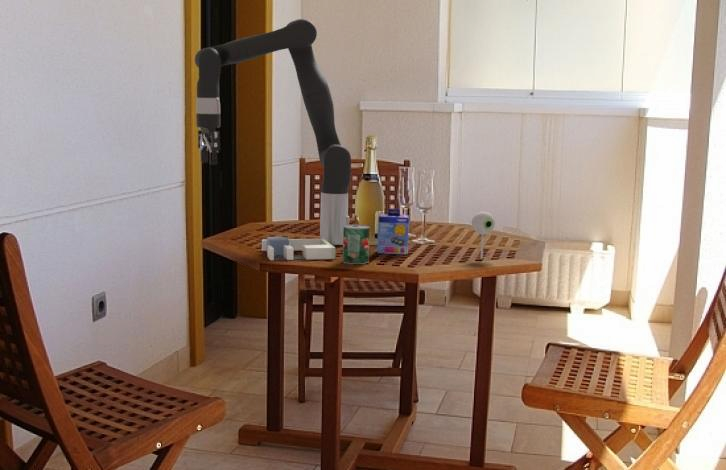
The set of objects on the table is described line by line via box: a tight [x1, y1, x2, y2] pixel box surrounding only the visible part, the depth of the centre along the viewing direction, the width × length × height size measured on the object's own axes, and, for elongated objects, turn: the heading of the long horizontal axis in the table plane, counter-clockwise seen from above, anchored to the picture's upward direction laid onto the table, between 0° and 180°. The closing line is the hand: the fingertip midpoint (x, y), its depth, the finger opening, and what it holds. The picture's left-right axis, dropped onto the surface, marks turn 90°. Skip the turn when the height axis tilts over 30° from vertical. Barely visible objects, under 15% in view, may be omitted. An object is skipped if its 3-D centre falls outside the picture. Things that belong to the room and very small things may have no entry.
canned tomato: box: [342, 223, 371, 265], centre depth 277 cm, size 8×8×11 cm
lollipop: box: [471, 211, 496, 260], centre depth 288 cm, size 7×7×15 cm
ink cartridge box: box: [377, 208, 410, 256], centre depth 295 cm, size 10×6×14 cm, turn 87°
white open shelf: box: [261, 238, 336, 261], centre depth 288 cm, size 20×18×4 cm
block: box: [266, 236, 290, 256], centre depth 289 cm, size 6×6×5 cm
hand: (208, 163), depth 294 cm, fingers open, 8 cm apart
